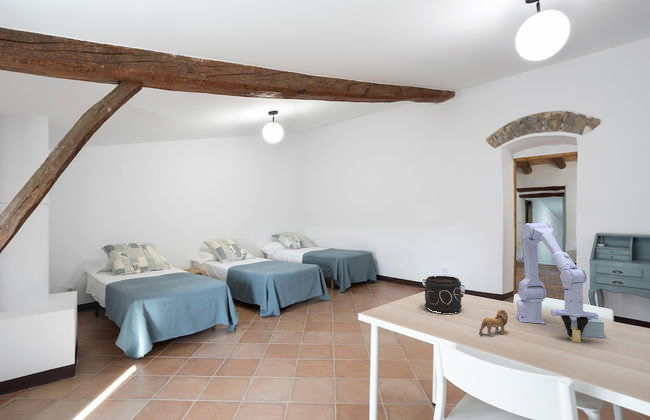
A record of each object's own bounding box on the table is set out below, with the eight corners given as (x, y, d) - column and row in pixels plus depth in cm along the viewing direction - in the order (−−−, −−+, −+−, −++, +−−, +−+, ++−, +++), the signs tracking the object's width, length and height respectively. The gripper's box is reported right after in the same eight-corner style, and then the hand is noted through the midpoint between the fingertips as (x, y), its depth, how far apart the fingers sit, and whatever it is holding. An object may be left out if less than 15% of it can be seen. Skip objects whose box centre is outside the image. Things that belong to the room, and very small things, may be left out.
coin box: (572, 335, 134) (572, 320, 134) (564, 326, 145) (564, 312, 145) (604, 338, 131) (603, 322, 131) (593, 328, 141) (593, 314, 141)
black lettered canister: (462, 317, 160) (461, 283, 160) (422, 312, 167) (422, 280, 168) (464, 307, 176) (463, 276, 176) (428, 303, 184) (427, 274, 184)
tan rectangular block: (572, 341, 128) (572, 329, 128) (568, 337, 132) (568, 325, 132) (580, 342, 127) (580, 330, 127) (576, 338, 131) (576, 326, 131)
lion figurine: (500, 329, 143) (499, 307, 143) (511, 332, 138) (511, 310, 138) (475, 335, 136) (474, 312, 136) (486, 339, 132) (486, 316, 132)
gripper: (554, 301, 128) (554, 337, 128) (601, 304, 123) (602, 342, 123) (549, 297, 135) (549, 331, 135) (593, 299, 130) (594, 335, 130)
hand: (574, 336), depth 130 cm, fingers closed on tan rectangular block, 2 cm apart
